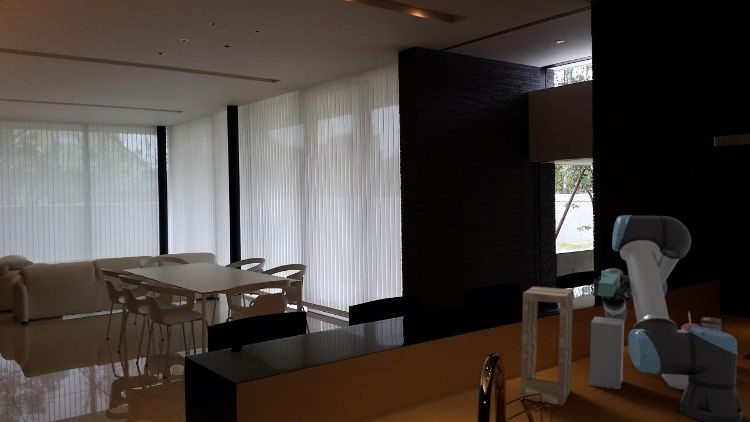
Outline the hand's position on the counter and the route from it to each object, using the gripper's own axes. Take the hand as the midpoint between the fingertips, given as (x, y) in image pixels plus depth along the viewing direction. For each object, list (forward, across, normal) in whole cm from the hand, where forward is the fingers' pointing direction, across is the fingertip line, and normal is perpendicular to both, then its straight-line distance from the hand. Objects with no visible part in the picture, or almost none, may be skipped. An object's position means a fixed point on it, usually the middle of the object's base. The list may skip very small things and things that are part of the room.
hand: (610, 274), depth 200 cm
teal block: (+1, 0, -6) cm, 6 cm away
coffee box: (-50, -32, -11) cm, 60 cm away
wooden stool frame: (+6, +15, -43) cm, 46 cm away
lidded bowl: (-19, -22, -28) cm, 41 cm away
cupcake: (-84, -27, +8) cm, 89 cm away
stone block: (-12, 0, -32) cm, 35 cm away
